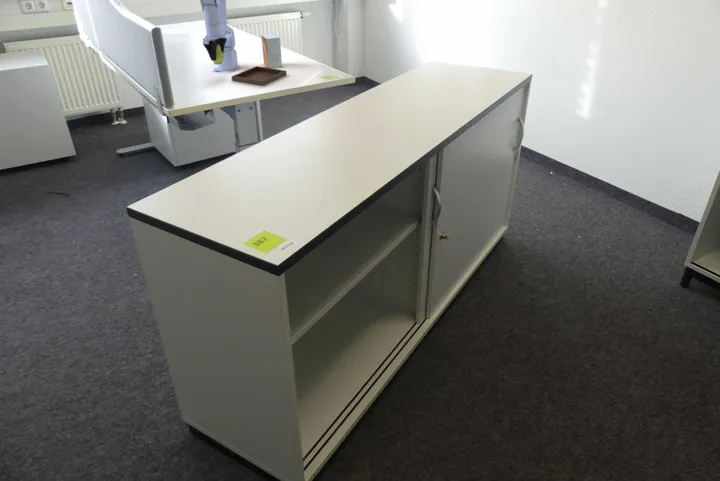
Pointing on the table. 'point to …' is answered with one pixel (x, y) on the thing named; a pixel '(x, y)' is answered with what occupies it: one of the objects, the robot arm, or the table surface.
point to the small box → (271, 50)
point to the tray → (259, 75)
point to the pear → (218, 55)
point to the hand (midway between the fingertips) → (217, 58)
